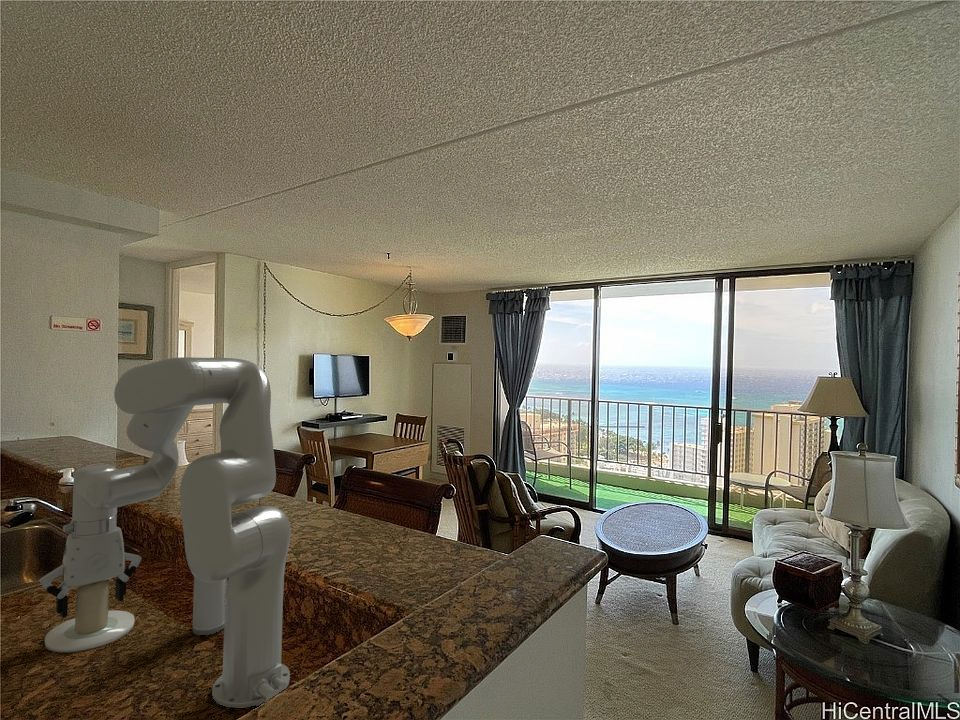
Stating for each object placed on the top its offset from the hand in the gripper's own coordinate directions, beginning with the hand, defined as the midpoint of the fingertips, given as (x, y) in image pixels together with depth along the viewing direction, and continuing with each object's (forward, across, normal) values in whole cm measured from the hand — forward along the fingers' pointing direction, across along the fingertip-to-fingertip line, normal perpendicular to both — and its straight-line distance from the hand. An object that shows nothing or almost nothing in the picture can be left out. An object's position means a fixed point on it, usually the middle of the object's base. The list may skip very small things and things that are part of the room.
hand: (92, 607), depth 108 cm
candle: (+4, 0, 0) cm, 4 cm away
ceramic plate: (+5, 0, 0) cm, 5 cm away
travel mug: (+5, +17, -16) cm, 24 cm away
